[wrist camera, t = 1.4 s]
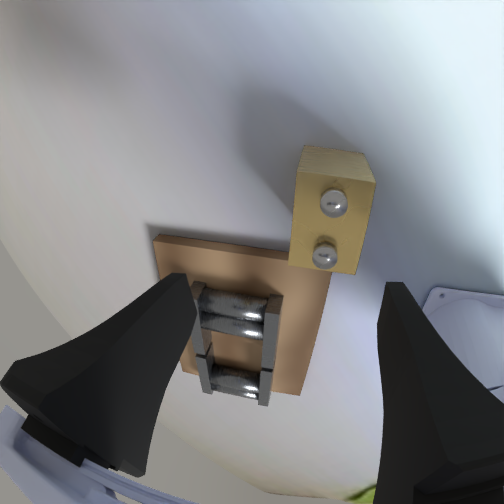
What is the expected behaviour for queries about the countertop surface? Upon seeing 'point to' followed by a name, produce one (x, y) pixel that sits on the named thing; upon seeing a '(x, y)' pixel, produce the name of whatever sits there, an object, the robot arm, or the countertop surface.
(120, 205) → the countertop surface
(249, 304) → the chain end
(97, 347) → the robot arm
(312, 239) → the brass block with studs
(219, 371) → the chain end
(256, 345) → the chain board
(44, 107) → the countertop surface
